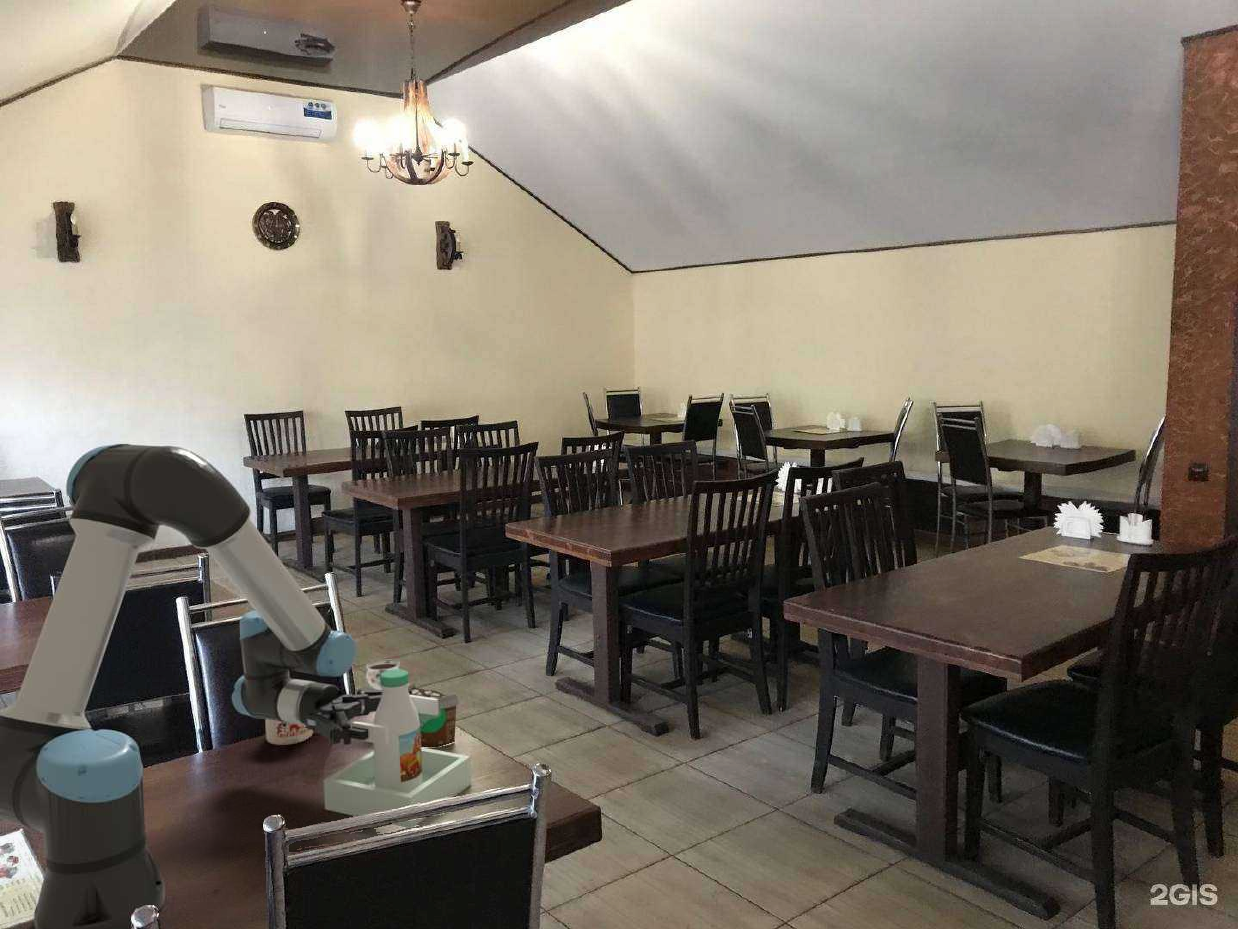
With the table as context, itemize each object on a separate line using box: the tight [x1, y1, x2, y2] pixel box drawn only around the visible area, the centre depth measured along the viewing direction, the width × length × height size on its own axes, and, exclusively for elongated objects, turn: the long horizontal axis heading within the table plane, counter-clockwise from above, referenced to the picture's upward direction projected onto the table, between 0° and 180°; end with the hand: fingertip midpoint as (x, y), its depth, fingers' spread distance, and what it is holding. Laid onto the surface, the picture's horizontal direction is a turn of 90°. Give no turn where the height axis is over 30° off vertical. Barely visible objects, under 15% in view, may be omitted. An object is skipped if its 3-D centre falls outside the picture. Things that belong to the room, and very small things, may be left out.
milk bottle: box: [372, 669, 422, 793], centre depth 158 cm, size 8×8×20 cm
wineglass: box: [365, 658, 401, 690], centre depth 192 cm, size 7×7×12 cm
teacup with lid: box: [264, 719, 314, 746], centre depth 186 cm, size 12×9×12 cm
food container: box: [408, 682, 460, 749], centre depth 181 cm, size 12×6×10 cm, turn 55°
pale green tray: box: [323, 747, 472, 829], centre depth 159 cm, size 17×17×5 cm
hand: (413, 721), depth 157 cm, fingers open, 13 cm apart
